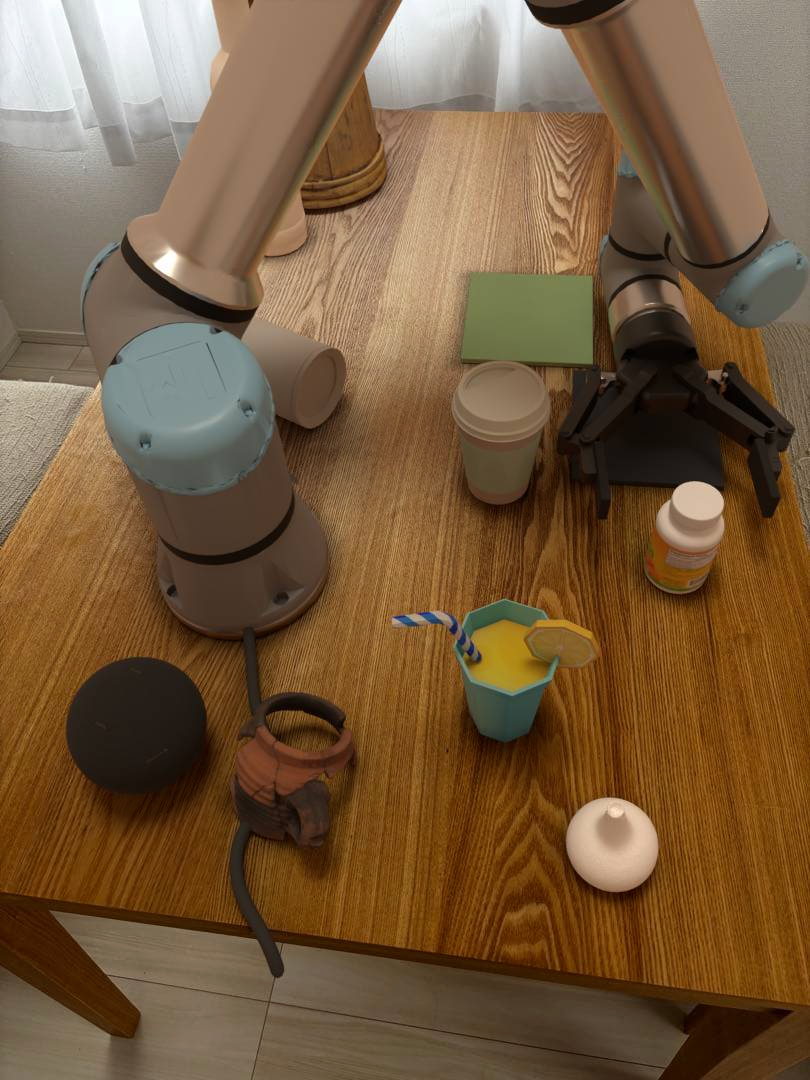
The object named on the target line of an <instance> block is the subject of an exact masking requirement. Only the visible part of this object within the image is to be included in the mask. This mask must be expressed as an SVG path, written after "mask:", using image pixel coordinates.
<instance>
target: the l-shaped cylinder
mask: <svg viewBox="0 0 810 1080" xmlns="http://www.w3.org/2000/svg"><path fill="white" fill-rule="evenodd" d="M241 341H242V342H243V343H244V344H245V345H246V346H247V347H248V348H249V349H250V350H251V352H252V353H253V354H254V356H255V357H256V359H257V360H258V362H259V364H260V366H261V368H262V370H263V372H264V374H265V375H266V378H267V380H268V382H269V385H270V387H271V391H272V395H273V400H274V408H275V416H278V417H280V418H283V419H285V420H287V421H289V422H292V423H294V424H296V425H298V426H301V427H303V428H305V429H314V428H317V427H319V426H320V425H322V424H323V423H324V422H325V421H327V420H328V418H329V417H330V416H331V415H332V413H333V412H334V411H335V409H336V407H337V405H338V403H339V402H340V399H341V397H342V394H343V392H344V389H345V388H344V387H345V385H346V384H345V383H346V379H347V364H346V359H345V357H344V354H343V352H342V351H341V350H340V349H338V348H336V347H334V346H331V345H328V344H326V343H324V342H321V341H318V340H316V339H314V338H311V337H309V336H306V335H303V334H301V333H298V332H296V331H294V330H291V329H289V328H286V327H283V326H281V325H279V324H276V323H273V322H271V321H269V320H266V319H264V318H261V317H258V316H256V315H254V317H253V318H252V320H251V322H250V324H249V326H248V327H247V329H246V331H245V333H244V335H243V337H242V339H241Z"/></svg>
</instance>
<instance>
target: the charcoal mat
mask: <svg viewBox="0 0 810 1080" xmlns="http://www.w3.org/2000/svg"><path fill="white" fill-rule="evenodd" d="M587 371H588V369H586V370H584V369H573V373H572V406H573V405H574V403H575V401H576V400H577V398H578V396H579V394H580V393H581V391H582V389H583V388H584V386H585V384H586V378H587ZM601 372H613V373H616V372H617V371H611V370H608V371H607V370H601ZM620 395H621V394H619V393H618V392H617V391H616V390H615V388H614V387H610V388H609V389H608V390H607V392H606V393H605V394H603V397H598V399H597V403H596V405H595V407H594V409H593V411H592V413H591V415H590V416H589V418H588V420H587V422H586V423H585V425H584V427H583V429H582V431H581V432H580V434H581V433H582V432H583V431H584V430H585V429H586V428H587V427H588V426H589V425H591V424H592V423H593V422H594V421H595V420H596V419H597V418H598V417H599V416H600V415H601V414H602V413H603V412H604V411H605V410H606V409H607V408H608V407H609V406H610V405H611V404H612V403H613V402H614V401H615V400H616V399H617V398H618V397H619V396H620ZM698 398H699V396H698V397H697V399H696V400H695V401H694V402H695V403H696V404H697V401H698ZM719 436H720V435H719V431H718V430H717V429H715V428H714V427H712V426H711V425H709V424H708V423H707V422H705V421H704V420H702V419H700V420H695V419H694V418H692V417H691V416H689V415H688V414H686V413H685V412H684V411H682V413H681V414H669V413H660V414H649V415H647V412H644V411H640V412H639V413H638V414H637V415H636V416H635V417H634V418H633V419H632V420H631V421H627V422H626V423H625V424H624V425H623V426H622V427H621V428H620V429H619V430H618V431H617V432H616V433H615V434H614V435H613V436H611V437H610V438H609V439H608V440H607V441H606V442H605V443H604V444H603V446H604V453H605V460H606V467H607V474H608V481H609V485H623V486H624V485H625V486H641V487H656V488H657V487H659V488H675V489H676V488H677V487H679V486H680V485H682V484H684V483H687V482H694V481H695V482H703V483H706V484H709V485H711V486H712V487H714V488H715V489H717V490H718V491H724V490H725V486H726V485H725V476H724V470H723V462H722V461H723V460H722V453H721V452H722V451H721V445H720V437H719ZM576 457H577V456H576V455H574V454H571V482H572V483H582V481H581V478H580V469H579V465H578V464H577V463H576Z"/></svg>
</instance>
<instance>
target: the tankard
mask: <svg viewBox="0 0 810 1080" xmlns="http://www.w3.org/2000/svg"><path fill="white" fill-rule="evenodd" d="M253 1H254V0H248V4H249V10H250V8H251V6H252V4H253ZM384 142H385V141H384V139H383V137H382V135H381V133H380V131H379V130H378V129H377V125H376V120H375V115H374V109H373V106H372V100H371V96H370V92H369V87H368V83H367V78H366V73H365V71H364V73H363V74H362V76H361V78H360V80H359V82H358V84H357V86H356V87H355V89H354V91H353V93H352V95H351V97H350V99H349V100H348V102H347V104H346V106H345V108H344V110H343V111H342V113H341V115H340V117H339V119H338V121H337V123H336V124H335V126H334V128H333V130H332V132H331V134H330V136H329V137H328V139H327V141H326V143H325V145H324V147H323V148H322V150H321V152H320V154H319V156H318V158H317V160H316V161H315V163H314V165H313V167H312V169H311V171H310V173H309V174H308V176H307V178H306V180H305V182H304V184H303V185H302V187H301V189H300V193H301V199H302V205H303V208H304V210H306V209H307V210H313V209H327V208H334V207H339V206H343V205H347V204H350V203H353V202H357V201H359V200H361V199H364V198H365V197H368V196H369V195H370V194H372V193H374V192H375V191H376V190H378V189H379V187H381V185H382V184H383V183H384V180H385V179H386V176H387V172H388V160H387V155H386V151H385V150H386V149H385V148H386V147H385V143H384Z"/></svg>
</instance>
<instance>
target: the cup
mask: <svg viewBox="0 0 810 1080" xmlns="http://www.w3.org/2000/svg"><path fill="white" fill-rule="evenodd" d="M438 624H439V625H442V626H445V627H446V628H447V629H448V631H449V632H450V633H451V635H452V636H453V637H454V639H455V640H454V643H453V645H452V650H453V654H454V656H455V658H456V659H457V662H458V663H459V665H460V670H461V676H462V680H463V682H462V683H463V685H464V691H465V697H466V702H467V708H468V712H469V714H470V717H471V718H472V720H473V722H474V724H475V726H476V728H477V730H478V732H479V734H480V735H482V736H485V737H487V738H491V739H493V740H496V741H499V742H502V743H504V744H506V743H508V742H511V741H514V740H516V739H519V738H520V737H523V736H526V735H527V734H529V733H530V730H531V728H532V725H533V722H534V720H535V717H536V713H537V711H538V709H539V706H540V702H541V699H542V697H543V695H544V694H543V693H544V691H545V688H546V687H548V686H550V685H551V683H552V681H553V677H554V675H555V671H556V669H586V668H587V667H588V666H590V665H591V664H592V663H593V662H595V661H596V660H598V658H599V657H600V654H601V648H600V646H599V644H598V642H597V640H596V638H595V635H594V633H593V632H592V631H590V630H588V629H586V628H585V627H581V626H580V625H578V624H575V623H574V622H572V621H569V620H567V619H549V616H548V615H547V613H546V612H545V611H544V610H542V609H539V608H536V607H532V606H530V605H526V604H523V603H519V602H516V601H512V600H510V599H507V598H503V599H500V600H498V601H495V602H493V603H489V604H487V605H485V606H482V607H479V608H477V609H474V610H472V611H470V612H467V613H466V614H465V617H464V619H463V622H462V624H461V625H460V622H459V621H458V620H457V619H456V618H455V617H454V616H453V615H451V614H449V613H447V612H446V611H445V612H444V611H441V610H431V611H424V612H416V613H410V614H404V615H403V614H402V615H396V616H391V625H392V627H393V629H403V628H411V627H420V626H422V627H423V626H430V625H438Z"/></svg>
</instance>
